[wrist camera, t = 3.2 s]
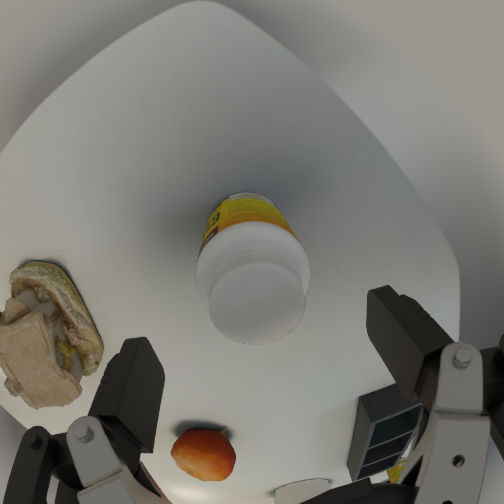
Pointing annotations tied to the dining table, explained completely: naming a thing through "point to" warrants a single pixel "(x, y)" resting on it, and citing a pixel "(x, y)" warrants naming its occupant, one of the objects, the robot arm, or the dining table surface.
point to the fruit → (204, 454)
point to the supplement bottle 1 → (252, 270)
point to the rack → (381, 431)
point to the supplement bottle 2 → (396, 471)
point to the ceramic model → (46, 337)
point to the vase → (301, 491)
